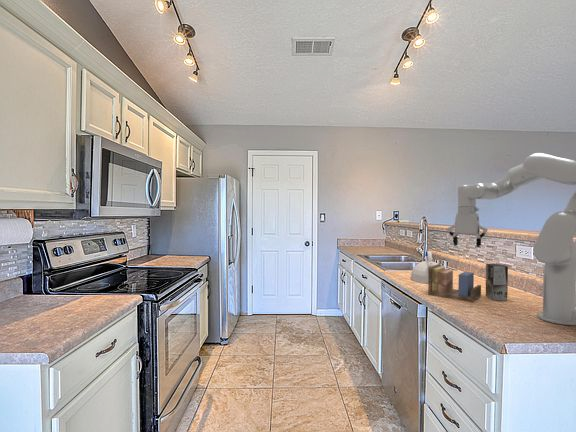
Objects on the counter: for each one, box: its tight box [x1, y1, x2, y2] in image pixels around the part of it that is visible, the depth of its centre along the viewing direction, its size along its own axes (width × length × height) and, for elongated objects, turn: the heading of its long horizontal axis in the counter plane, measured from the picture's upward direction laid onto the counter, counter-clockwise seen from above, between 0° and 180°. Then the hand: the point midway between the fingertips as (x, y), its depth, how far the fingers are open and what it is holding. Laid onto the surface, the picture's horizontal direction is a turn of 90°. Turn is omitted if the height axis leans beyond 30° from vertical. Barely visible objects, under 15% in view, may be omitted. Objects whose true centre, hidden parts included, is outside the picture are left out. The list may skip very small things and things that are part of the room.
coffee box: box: [485, 263, 509, 302], centre depth 154 cm, size 9×6×16 cm
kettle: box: [410, 250, 439, 285], centre depth 193 cm, size 20×21×18 cm
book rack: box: [427, 263, 482, 303], centre depth 158 cm, size 20×14×14 cm
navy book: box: [457, 271, 475, 297], centre depth 154 cm, size 4×10×10 cm, turn 137°
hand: (466, 246), depth 154 cm, fingers open, 9 cm apart
